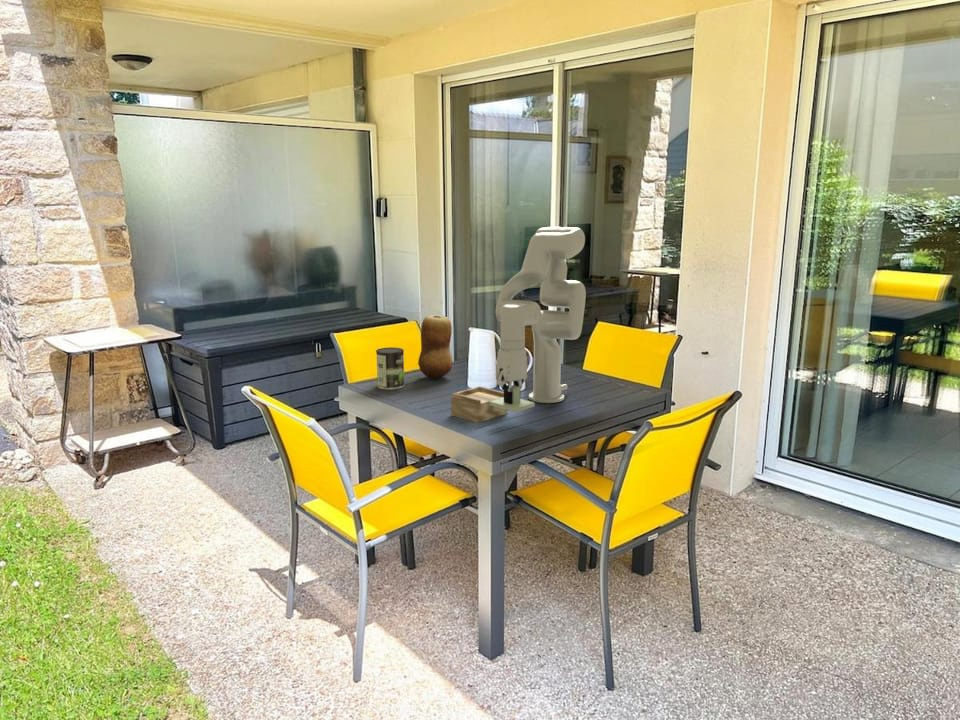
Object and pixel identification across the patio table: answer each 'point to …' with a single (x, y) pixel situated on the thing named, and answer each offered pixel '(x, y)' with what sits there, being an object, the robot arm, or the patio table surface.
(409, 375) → the patio table surface
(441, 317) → the butternut squash
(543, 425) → the patio table surface
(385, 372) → the coffee can
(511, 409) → the cover plate
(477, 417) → the box
